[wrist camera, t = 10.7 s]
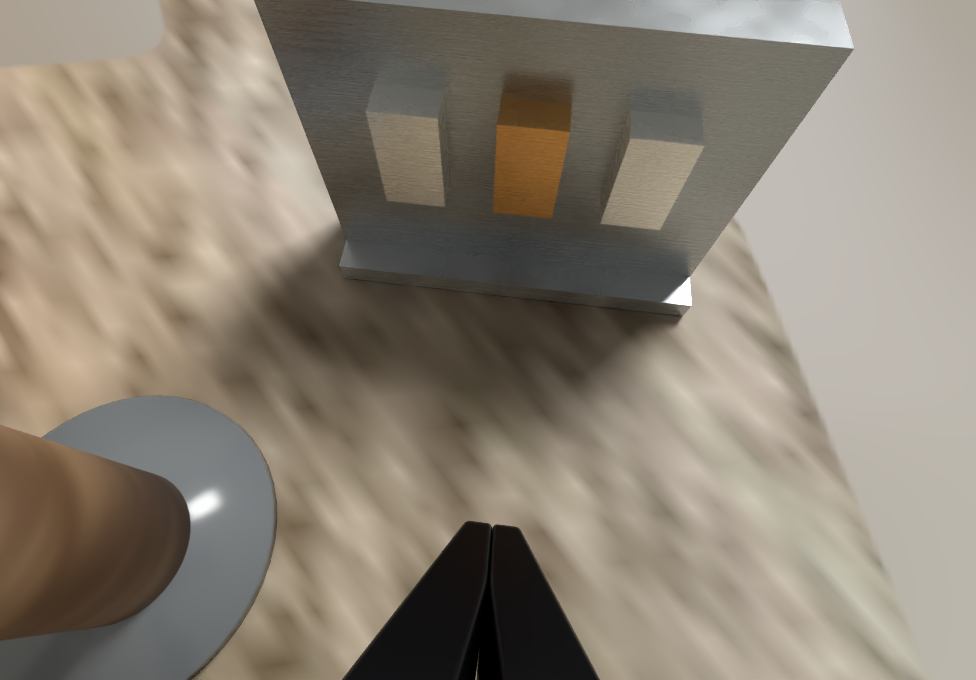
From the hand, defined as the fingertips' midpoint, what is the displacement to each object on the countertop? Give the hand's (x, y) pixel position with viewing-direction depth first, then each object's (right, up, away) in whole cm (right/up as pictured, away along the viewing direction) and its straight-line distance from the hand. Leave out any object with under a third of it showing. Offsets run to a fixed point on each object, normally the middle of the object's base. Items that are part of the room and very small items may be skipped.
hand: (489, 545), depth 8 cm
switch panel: (+1, +8, +17) cm, 19 cm away
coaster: (-14, -4, +11) cm, 18 cm away
